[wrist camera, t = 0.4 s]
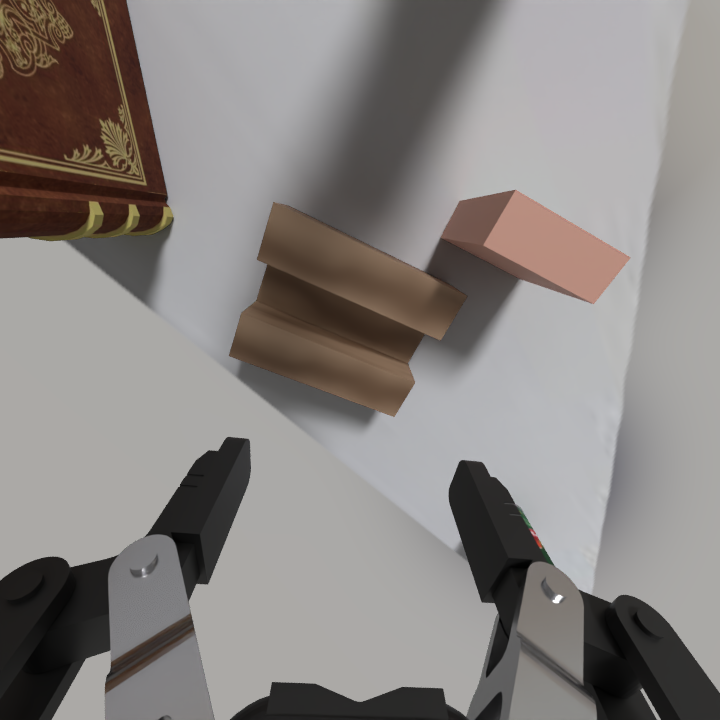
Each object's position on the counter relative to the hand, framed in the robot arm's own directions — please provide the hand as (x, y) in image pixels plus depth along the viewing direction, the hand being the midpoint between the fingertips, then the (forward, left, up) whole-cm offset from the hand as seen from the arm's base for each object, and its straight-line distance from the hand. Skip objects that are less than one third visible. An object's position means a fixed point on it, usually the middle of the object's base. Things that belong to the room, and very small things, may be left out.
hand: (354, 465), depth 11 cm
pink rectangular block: (-12, +12, -27) cm, 32 cm away
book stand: (+2, 0, -27) cm, 27 cm away
